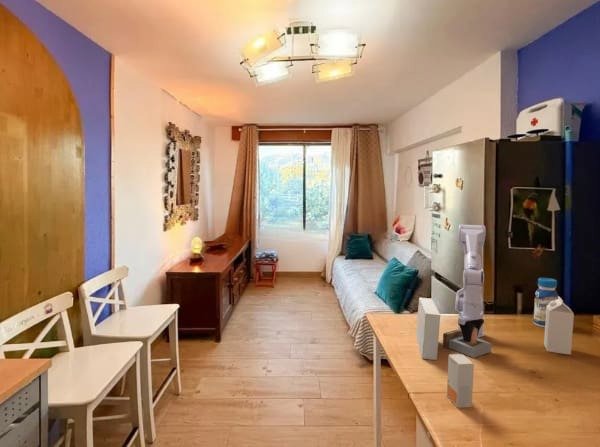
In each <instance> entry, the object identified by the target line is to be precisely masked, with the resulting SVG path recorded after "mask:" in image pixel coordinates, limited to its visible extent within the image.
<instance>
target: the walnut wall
mask: <svg viewBox="0 0 600 447" xmlns="http://www.w3.org/2000/svg"><path fill="white" fill-rule="evenodd" d="M442 334H443V335H442V347H443V348H445V349H448V348H449V339H452V338H455V337H459V336H462V331H461V329H458V328H457V329H454V330H451V331H448V332H444V333H442Z"/></svg>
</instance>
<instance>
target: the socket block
mask: <svg viewBox="0 0 600 447" xmlns="http://www.w3.org/2000/svg"><path fill="white" fill-rule="evenodd" d="M492 344H493V343H491V342H488V341H486V340H484V339H481V338H477V345H475V346H470V345H468V344H465V343H464V339H463V335H462V336H459V337H455V338H452V339H449V347H448V348H449V349H452V350H453V351H457V352H459V353H461V354H463V355H465V356H469V357H470V358H473V359H474V358H478V357H479V356H480V357H481V356H483V355H486V354H490V353H491V352H492Z"/></svg>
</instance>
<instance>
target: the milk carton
mask: <svg viewBox="0 0 600 447" xmlns="http://www.w3.org/2000/svg"><path fill="white" fill-rule="evenodd" d="M574 318H575V315H574V312H573V311H572V309H571V308H570V307H569V306H568V305H566V304H565V303H564V300H563V299H562V298H561V297H560V296H559V295H558V298H557V300H555V301H551V302H550V303H549V304H548V305H547V308H546V323H545V327H544V340H543V345H544V347H545V349H546V352H551V353H557V354H562V355H563V354H564V355H567V356H568V355H570V356H571V355H572V343H573V331H574V320H575V319H574Z"/></svg>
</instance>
